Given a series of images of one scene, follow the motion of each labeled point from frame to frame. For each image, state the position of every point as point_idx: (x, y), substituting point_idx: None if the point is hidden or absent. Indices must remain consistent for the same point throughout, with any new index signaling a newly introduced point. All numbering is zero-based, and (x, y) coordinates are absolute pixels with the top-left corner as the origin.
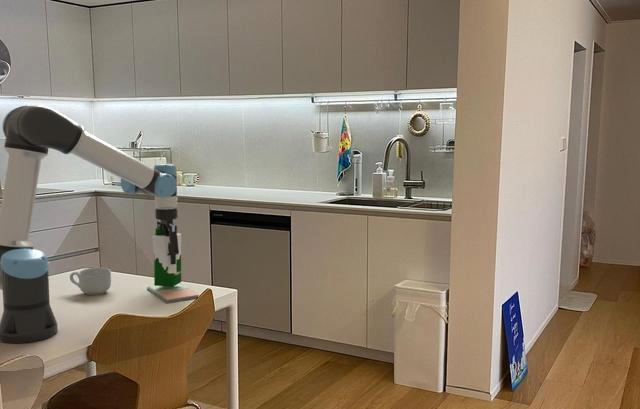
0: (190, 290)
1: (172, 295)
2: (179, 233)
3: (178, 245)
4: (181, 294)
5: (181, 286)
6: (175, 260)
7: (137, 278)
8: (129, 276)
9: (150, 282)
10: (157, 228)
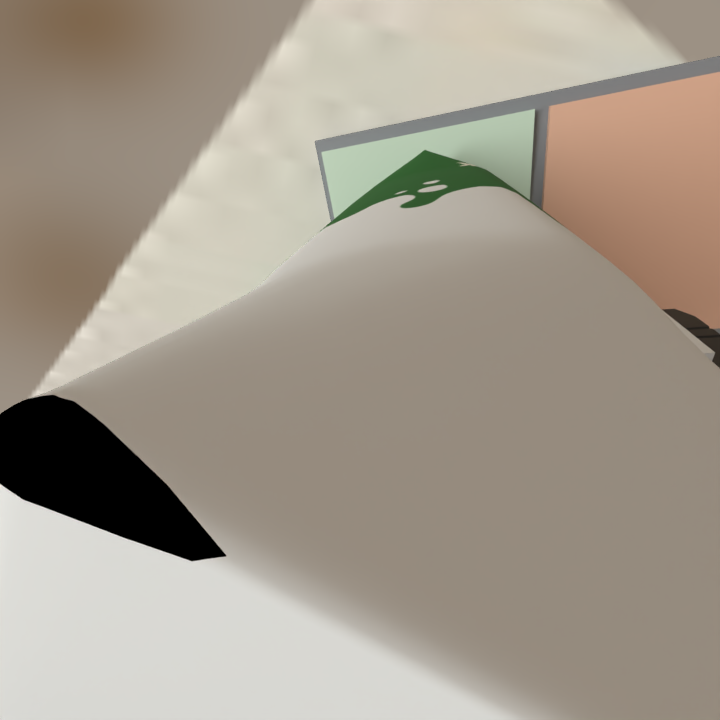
0: (625, 99)
1: (662, 275)
2: (4, 624)
3: (712, 366)
4: (691, 207)
5: (450, 152)
6: (714, 335)
7: (125, 341)
8: (88, 364)
9: (213, 303)
10: None
